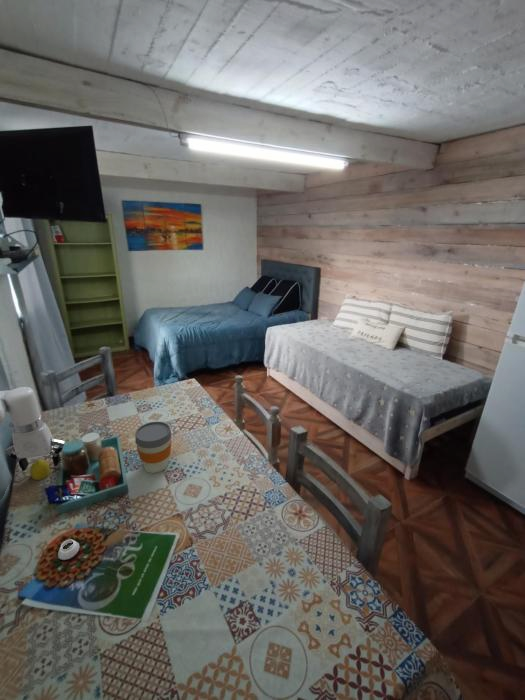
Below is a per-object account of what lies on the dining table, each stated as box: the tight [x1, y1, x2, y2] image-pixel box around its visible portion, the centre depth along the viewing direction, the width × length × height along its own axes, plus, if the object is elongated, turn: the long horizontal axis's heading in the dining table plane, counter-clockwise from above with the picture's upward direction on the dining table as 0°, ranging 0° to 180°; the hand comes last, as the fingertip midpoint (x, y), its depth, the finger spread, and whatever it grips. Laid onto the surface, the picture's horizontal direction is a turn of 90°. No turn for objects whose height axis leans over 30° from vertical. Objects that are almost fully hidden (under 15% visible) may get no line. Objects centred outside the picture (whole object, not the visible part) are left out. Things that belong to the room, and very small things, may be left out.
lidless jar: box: [57, 538, 81, 561], centre depth 86 cm, size 5×3×5 cm
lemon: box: [29, 459, 51, 481], centre depth 109 cm, size 6×6×8 cm
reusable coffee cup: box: [134, 421, 173, 474], centre depth 117 cm, size 13×13×15 cm
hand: (41, 465), depth 109 cm, fingers open, 9 cm apart
